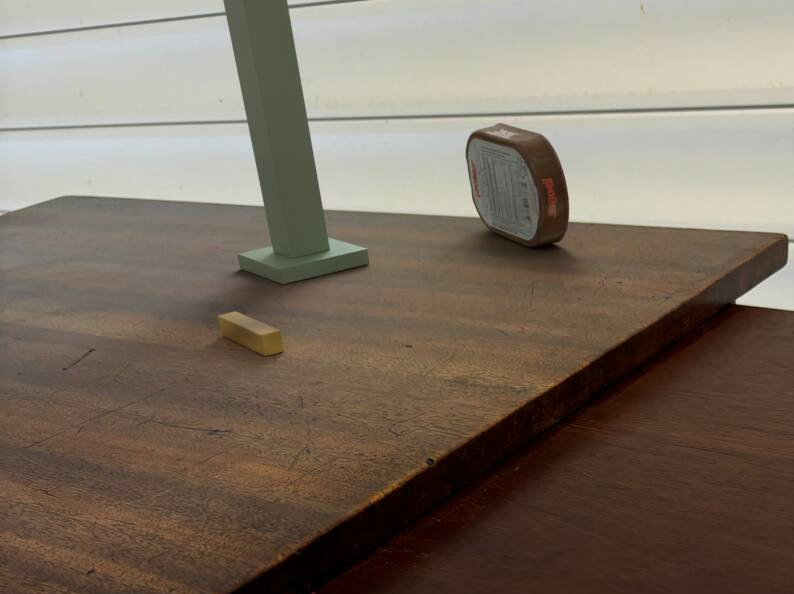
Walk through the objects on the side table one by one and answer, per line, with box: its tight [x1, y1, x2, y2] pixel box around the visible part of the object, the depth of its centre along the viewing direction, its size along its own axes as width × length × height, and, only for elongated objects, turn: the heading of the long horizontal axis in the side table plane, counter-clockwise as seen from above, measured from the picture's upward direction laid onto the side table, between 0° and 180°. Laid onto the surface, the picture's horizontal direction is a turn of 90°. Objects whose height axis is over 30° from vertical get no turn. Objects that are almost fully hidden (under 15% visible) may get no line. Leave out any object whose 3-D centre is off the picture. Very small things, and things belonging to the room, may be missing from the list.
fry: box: [217, 310, 285, 357], centre depth 80 cm, size 7×1×1 cm, turn 37°
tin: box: [465, 122, 570, 248], centre depth 98 cm, size 15×3×8 cm, turn 27°
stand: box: [222, 0, 370, 285], centre depth 88 cm, size 15×8×31 cm, turn 37°
